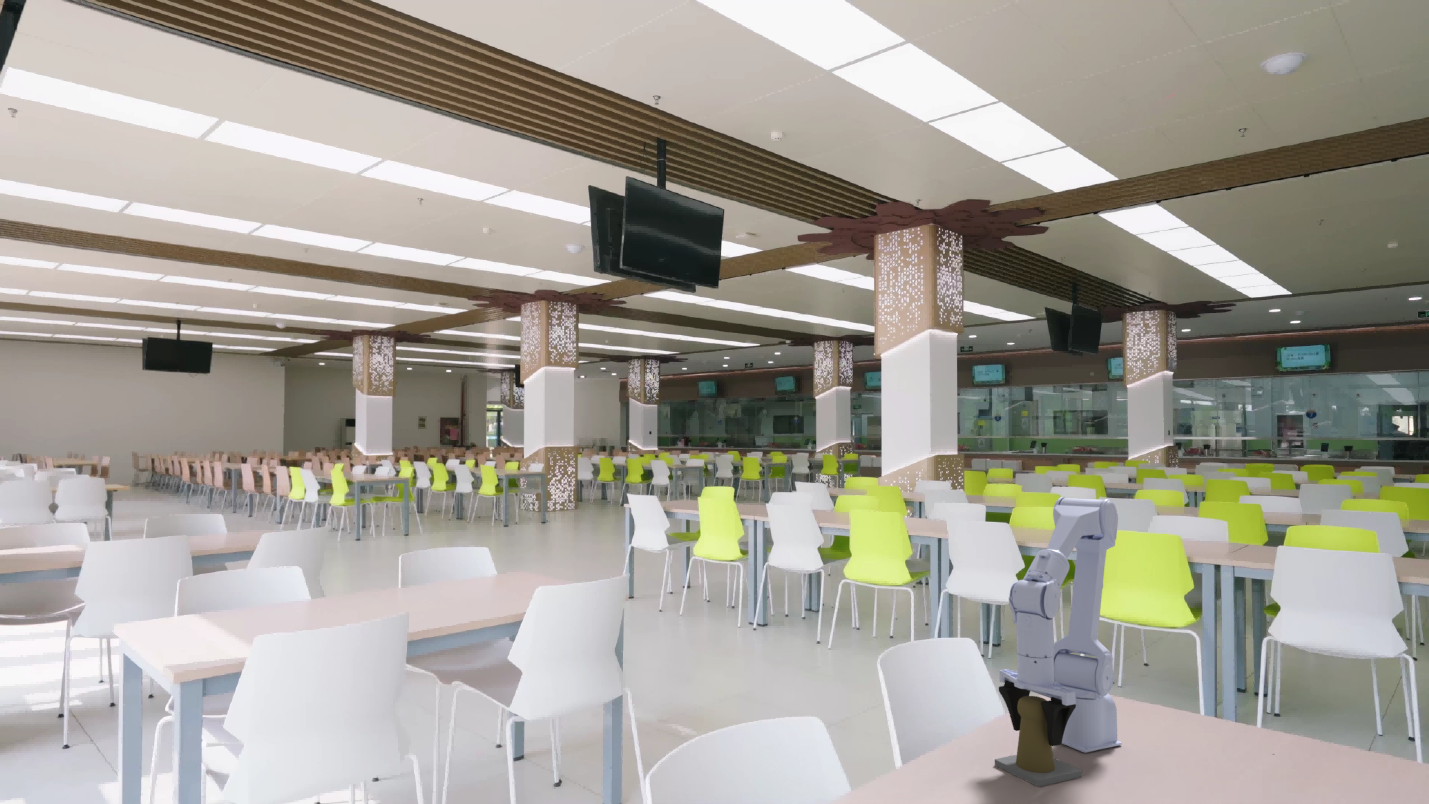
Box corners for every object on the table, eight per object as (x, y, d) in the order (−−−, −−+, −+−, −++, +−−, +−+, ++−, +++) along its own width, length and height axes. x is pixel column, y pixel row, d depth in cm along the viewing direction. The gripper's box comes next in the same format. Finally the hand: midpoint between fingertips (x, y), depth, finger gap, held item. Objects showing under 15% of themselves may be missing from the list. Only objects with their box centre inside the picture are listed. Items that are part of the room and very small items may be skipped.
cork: (1057, 774, 130) (1055, 705, 130) (1017, 770, 131) (1015, 701, 132) (1052, 760, 136) (1051, 693, 136) (1014, 756, 137) (1013, 690, 138)
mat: (1036, 756, 140) (1036, 750, 140) (1082, 776, 131) (1082, 770, 132) (994, 765, 136) (994, 759, 136) (1038, 787, 128) (1038, 780, 128)
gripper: (985, 646, 140) (986, 726, 139) (1051, 667, 127) (1053, 756, 126) (1016, 642, 143) (1017, 720, 142) (1084, 662, 129) (1086, 749, 129)
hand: (1036, 737), depth 134 cm, fingers open, 7 cm apart
